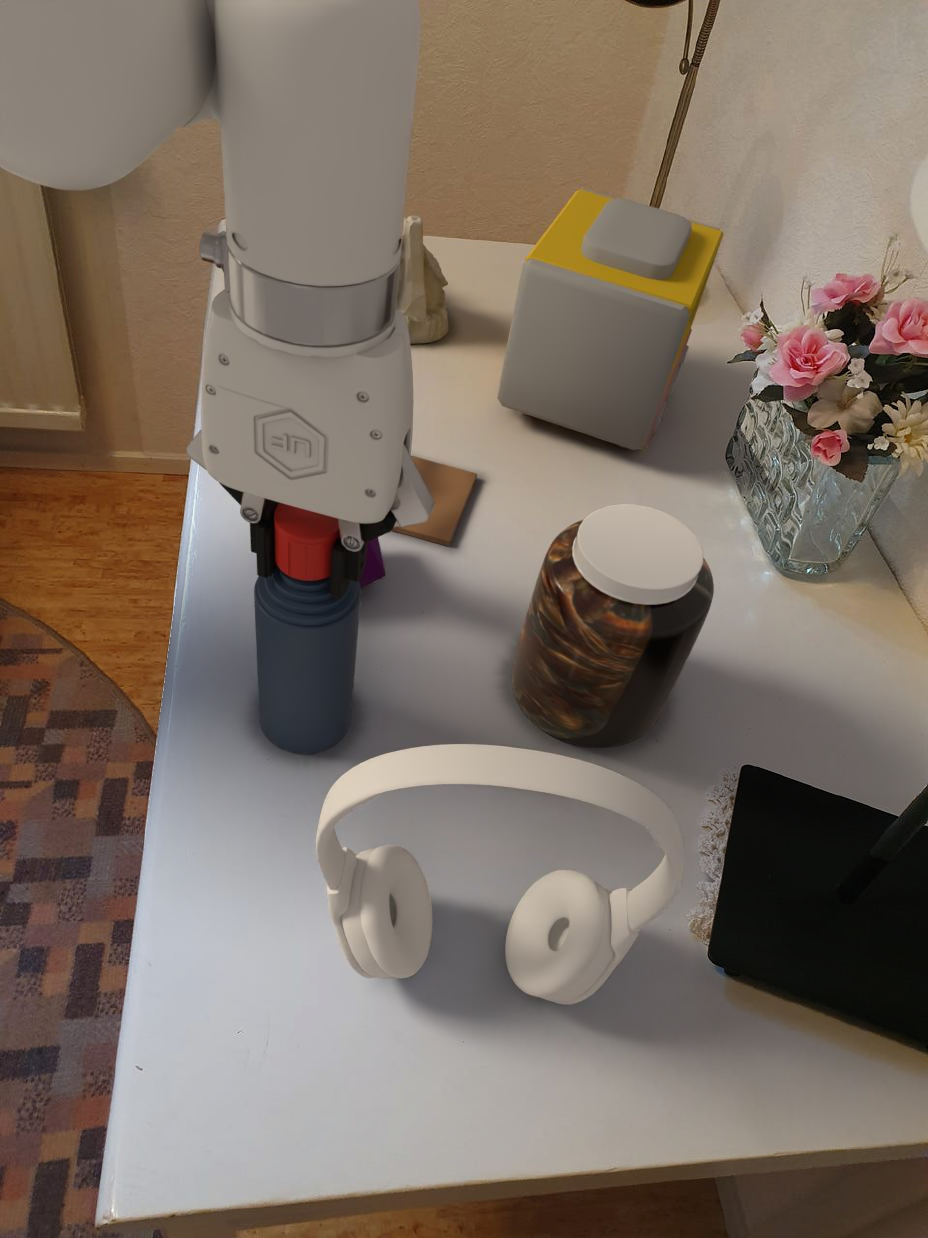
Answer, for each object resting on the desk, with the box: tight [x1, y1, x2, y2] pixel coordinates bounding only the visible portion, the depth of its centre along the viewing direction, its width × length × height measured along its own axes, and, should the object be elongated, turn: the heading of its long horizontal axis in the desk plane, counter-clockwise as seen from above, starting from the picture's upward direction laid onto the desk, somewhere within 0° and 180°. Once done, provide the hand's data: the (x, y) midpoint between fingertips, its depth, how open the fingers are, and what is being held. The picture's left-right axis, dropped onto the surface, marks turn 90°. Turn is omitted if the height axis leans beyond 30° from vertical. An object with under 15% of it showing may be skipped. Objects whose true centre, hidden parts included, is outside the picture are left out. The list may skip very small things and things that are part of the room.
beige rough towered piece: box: [396, 215, 450, 345], centre depth 100 cm, size 16×16×15 cm
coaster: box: [391, 455, 478, 547], centre depth 83 cm, size 10×10×1 cm
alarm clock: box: [496, 187, 724, 451], centre depth 91 cm, size 20×16×18 cm
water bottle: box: [253, 566, 362, 755], centre depth 59 cm, size 6×6×18 cm
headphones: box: [315, 743, 685, 1005], centre depth 48 cm, size 7×18×20 cm, turn 85°
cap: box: [273, 503, 340, 581], centre depth 53 cm, size 4×4×3 cm
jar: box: [511, 503, 715, 748], centre depth 66 cm, size 12×12×15 cm
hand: (308, 569), depth 55 cm, fingers closed on cap, 3 cm apart
